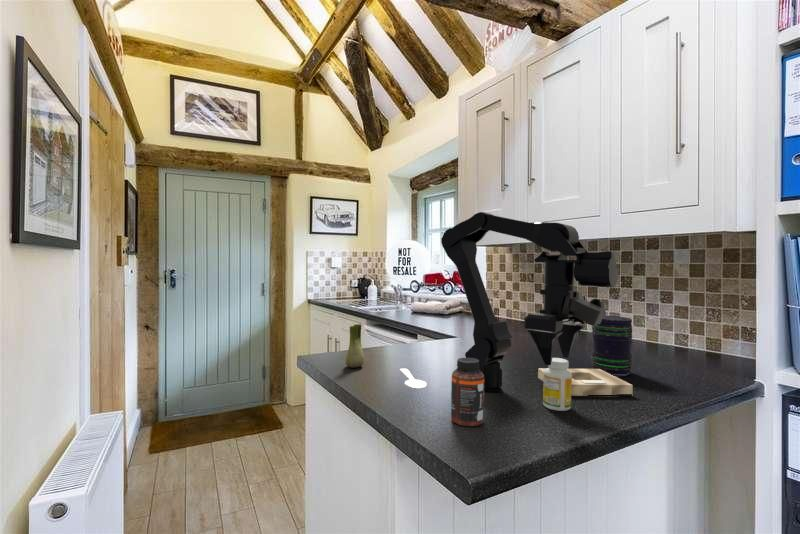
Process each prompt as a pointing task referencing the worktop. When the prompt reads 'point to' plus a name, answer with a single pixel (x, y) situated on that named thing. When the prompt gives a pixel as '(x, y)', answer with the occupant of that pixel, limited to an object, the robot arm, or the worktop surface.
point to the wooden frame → (594, 382)
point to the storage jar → (612, 345)
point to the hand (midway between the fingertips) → (557, 361)
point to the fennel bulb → (355, 348)
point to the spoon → (413, 380)
